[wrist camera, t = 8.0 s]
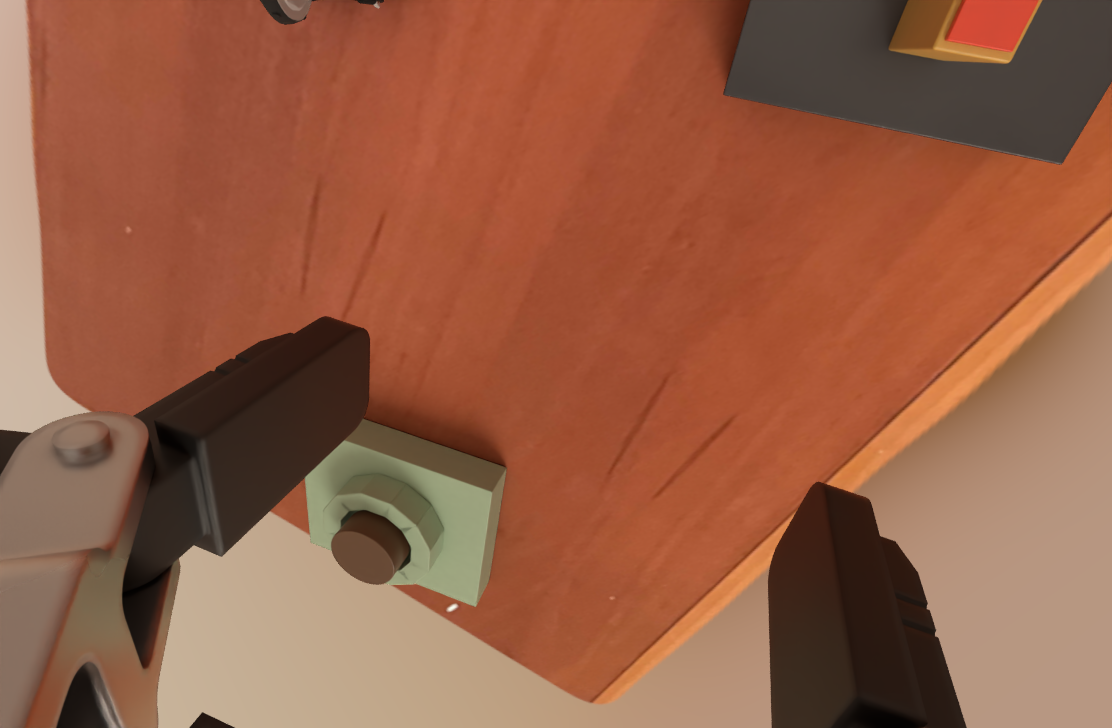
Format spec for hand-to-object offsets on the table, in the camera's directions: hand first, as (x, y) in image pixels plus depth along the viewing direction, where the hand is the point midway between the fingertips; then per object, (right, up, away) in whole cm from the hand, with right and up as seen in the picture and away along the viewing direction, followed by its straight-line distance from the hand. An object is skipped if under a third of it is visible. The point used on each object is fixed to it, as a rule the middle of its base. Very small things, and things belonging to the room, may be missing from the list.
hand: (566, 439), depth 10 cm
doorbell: (-9, -7, +26) cm, 29 cm away
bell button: (-10, -9, +23) cm, 27 cm away
